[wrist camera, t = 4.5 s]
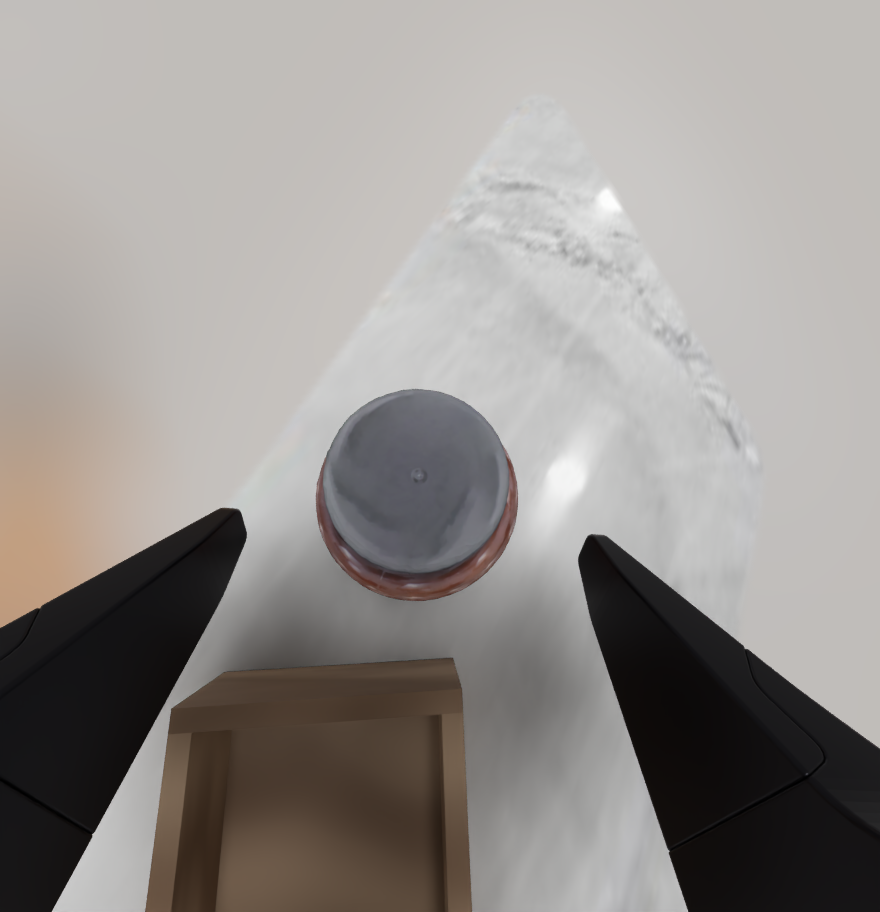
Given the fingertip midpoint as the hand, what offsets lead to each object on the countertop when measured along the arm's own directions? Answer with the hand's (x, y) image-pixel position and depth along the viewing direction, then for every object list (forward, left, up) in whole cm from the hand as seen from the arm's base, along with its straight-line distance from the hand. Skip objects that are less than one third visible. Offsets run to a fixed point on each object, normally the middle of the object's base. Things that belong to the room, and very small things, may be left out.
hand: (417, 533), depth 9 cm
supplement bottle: (+1, -1, -9) cm, 9 cm away
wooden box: (-4, +11, -9) cm, 15 cm away
